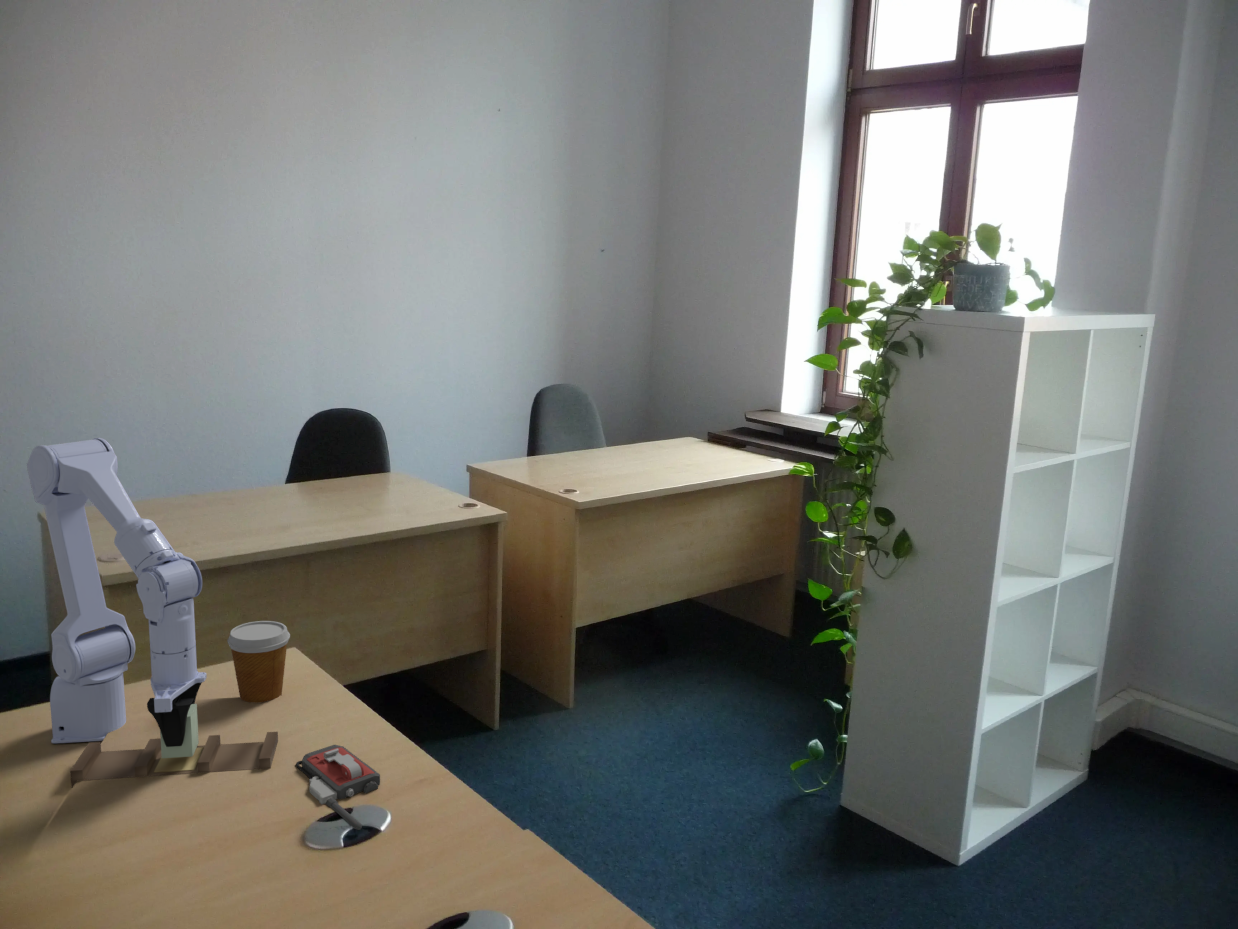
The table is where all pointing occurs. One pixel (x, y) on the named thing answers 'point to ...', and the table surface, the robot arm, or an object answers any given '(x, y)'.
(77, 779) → the notch rail
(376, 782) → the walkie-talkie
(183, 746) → the sage block
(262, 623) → the disposable coffee cup
